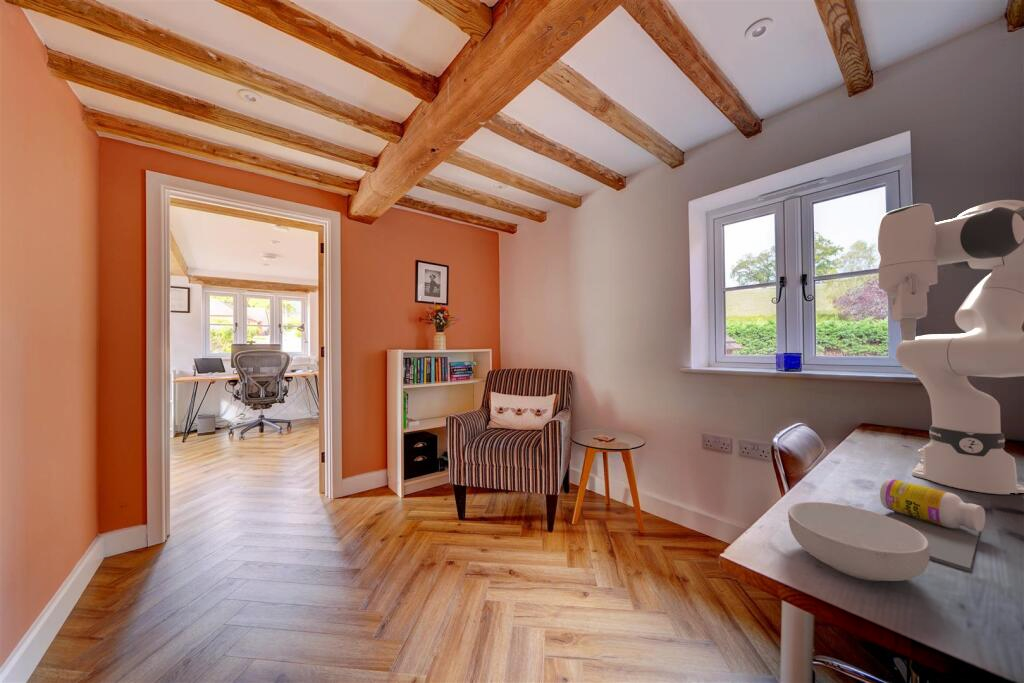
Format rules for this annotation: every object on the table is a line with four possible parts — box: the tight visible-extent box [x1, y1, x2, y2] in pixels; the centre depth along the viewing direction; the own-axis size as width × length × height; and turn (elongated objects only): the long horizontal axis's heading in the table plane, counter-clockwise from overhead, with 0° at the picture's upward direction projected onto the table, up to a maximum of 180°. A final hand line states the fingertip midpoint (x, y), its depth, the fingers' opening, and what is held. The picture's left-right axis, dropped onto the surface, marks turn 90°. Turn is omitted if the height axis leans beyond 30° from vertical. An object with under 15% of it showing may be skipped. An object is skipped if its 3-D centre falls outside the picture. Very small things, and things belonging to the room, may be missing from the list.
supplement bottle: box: [879, 478, 986, 532], centre depth 72 cm, size 7×7×13 cm
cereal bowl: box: [787, 501, 930, 582], centre depth 59 cm, size 17×17×7 cm
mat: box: [889, 511, 981, 573], centre depth 68 cm, size 22×11×1 cm, turn 125°
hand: (908, 340), depth 80 cm, fingers closed
